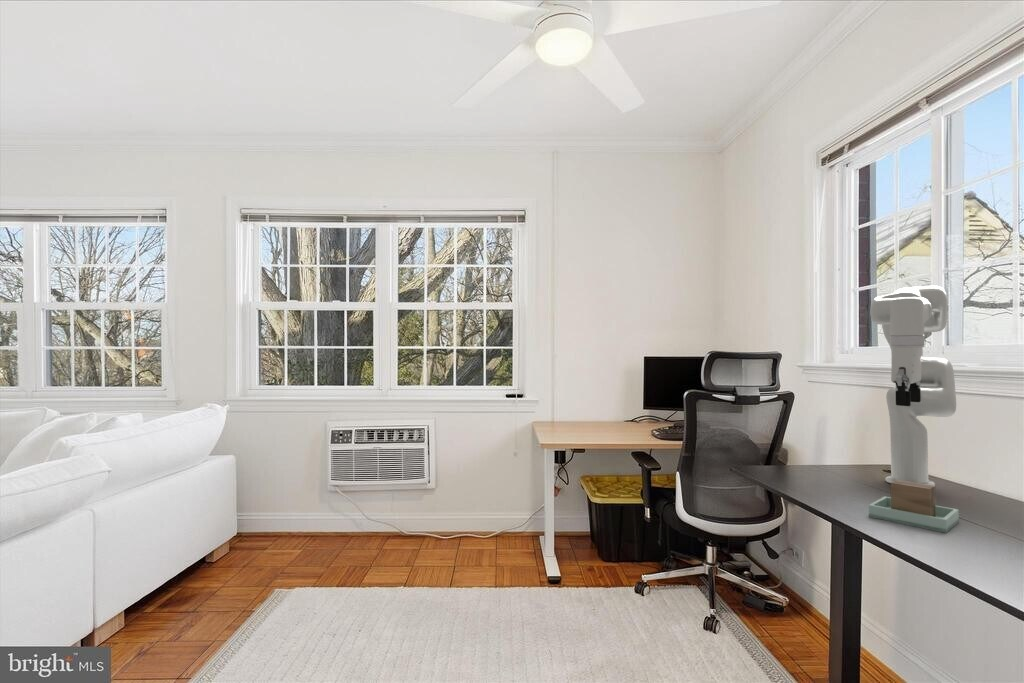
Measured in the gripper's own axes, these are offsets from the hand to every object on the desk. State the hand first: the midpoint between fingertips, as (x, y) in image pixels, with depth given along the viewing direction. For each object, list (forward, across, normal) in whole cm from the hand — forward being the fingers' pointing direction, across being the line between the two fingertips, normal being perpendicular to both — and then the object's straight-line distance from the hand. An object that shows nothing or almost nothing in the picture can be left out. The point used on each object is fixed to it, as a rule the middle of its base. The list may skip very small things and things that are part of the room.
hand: (908, 403), depth 144 cm
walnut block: (+26, +15, +4) cm, 31 cm away
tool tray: (+27, +15, +4) cm, 32 cm away
